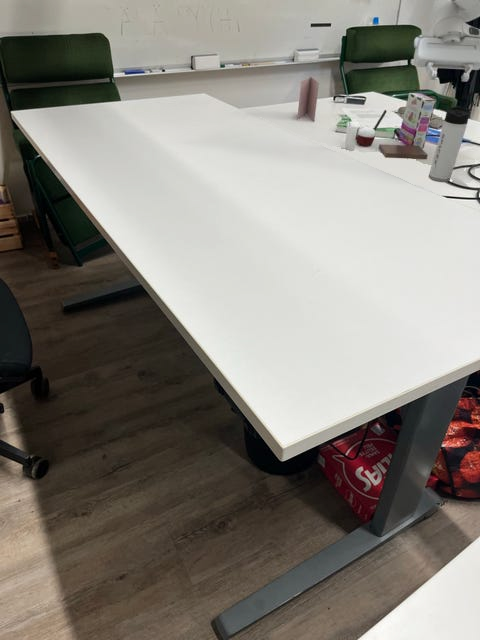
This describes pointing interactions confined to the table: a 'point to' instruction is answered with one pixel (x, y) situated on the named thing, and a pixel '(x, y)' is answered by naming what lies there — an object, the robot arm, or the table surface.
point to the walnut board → (402, 151)
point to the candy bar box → (416, 119)
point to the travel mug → (449, 144)
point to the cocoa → (368, 133)
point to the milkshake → (352, 135)
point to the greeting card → (308, 98)
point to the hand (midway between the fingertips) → (449, 79)
